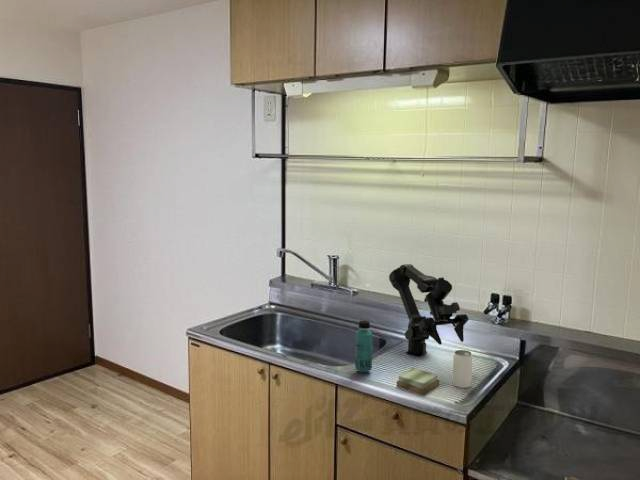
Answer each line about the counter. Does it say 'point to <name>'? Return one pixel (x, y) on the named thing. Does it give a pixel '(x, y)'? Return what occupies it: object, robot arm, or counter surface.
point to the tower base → (418, 390)
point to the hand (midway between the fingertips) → (451, 342)
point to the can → (462, 369)
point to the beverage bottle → (363, 347)
